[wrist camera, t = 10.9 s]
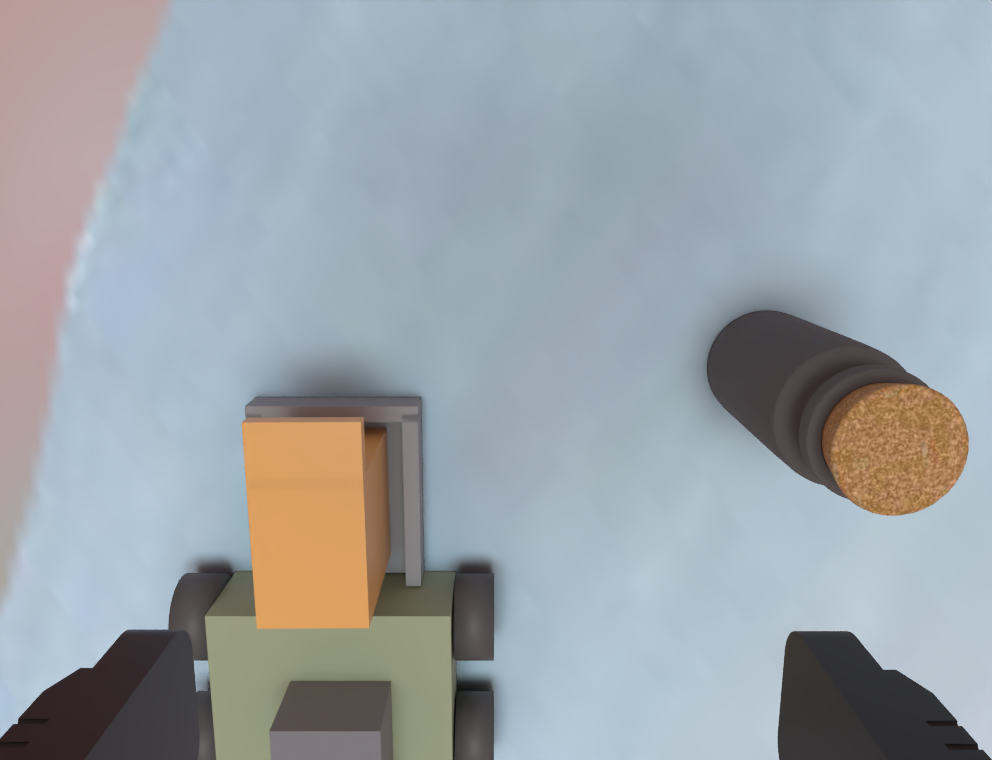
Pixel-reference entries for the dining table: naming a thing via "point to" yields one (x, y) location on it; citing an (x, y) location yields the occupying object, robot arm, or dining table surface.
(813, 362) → the bottle
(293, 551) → the orange box
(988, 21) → the dining table surface
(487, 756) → the green boxy vehicle
